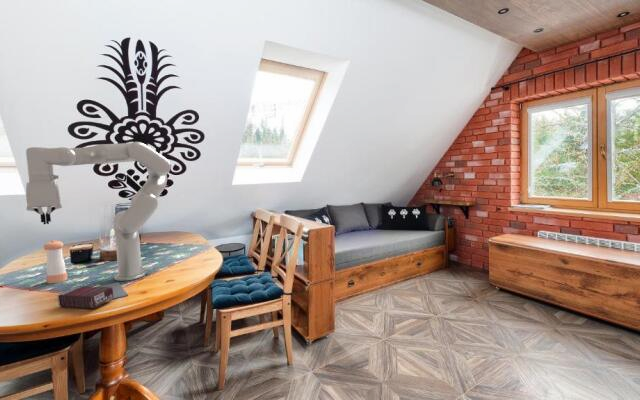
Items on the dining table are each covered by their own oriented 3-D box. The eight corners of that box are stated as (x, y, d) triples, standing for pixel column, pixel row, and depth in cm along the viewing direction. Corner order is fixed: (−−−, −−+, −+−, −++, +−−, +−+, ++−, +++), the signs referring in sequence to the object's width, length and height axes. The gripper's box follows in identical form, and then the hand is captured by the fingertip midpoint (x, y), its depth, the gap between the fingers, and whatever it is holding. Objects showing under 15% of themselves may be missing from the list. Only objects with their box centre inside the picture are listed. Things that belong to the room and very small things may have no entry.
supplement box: (58, 307, 115) (94, 309, 112) (56, 295, 114) (92, 296, 111) (80, 297, 123) (114, 298, 120) (78, 285, 122) (112, 286, 119)
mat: (118, 283, 139) (118, 281, 139) (127, 295, 125) (127, 294, 125) (78, 291, 130) (78, 290, 130) (84, 306, 115) (84, 305, 115)
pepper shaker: (59, 283, 140) (55, 241, 139) (42, 283, 140) (38, 242, 138) (71, 277, 148) (67, 238, 146) (54, 278, 147) (50, 238, 145)
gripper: (65, 178, 132) (69, 220, 134) (16, 179, 122) (21, 225, 124) (66, 178, 127) (70, 222, 129) (15, 179, 117) (20, 227, 119)
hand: (46, 223), depth 126 cm, fingers closed
